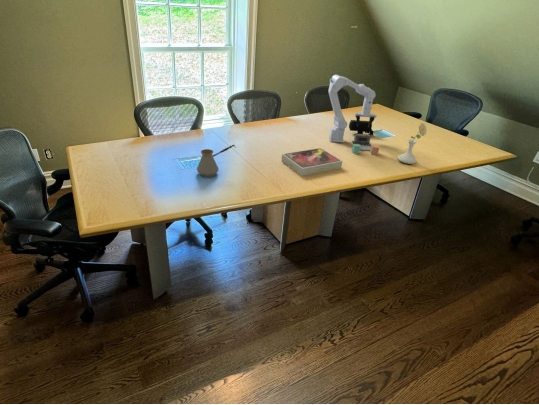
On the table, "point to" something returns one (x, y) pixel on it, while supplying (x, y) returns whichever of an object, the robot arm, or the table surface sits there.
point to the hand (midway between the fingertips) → (363, 127)
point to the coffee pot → (209, 162)
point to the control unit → (362, 139)
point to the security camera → (360, 127)
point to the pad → (365, 148)
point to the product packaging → (311, 161)
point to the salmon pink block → (374, 150)
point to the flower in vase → (408, 156)
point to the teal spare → (356, 148)
